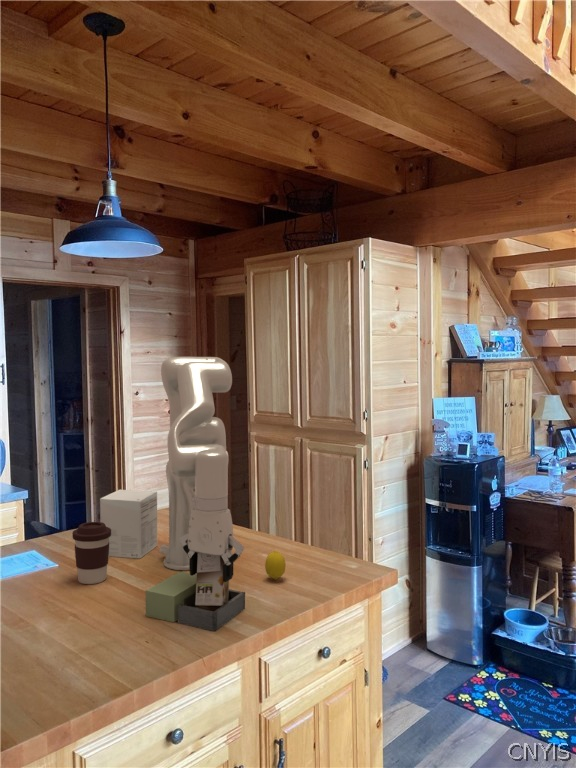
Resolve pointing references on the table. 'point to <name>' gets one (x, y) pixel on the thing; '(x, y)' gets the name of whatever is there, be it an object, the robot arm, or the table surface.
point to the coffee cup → (91, 551)
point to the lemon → (275, 565)
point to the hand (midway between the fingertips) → (211, 576)
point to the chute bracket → (212, 613)
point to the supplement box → (130, 522)
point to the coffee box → (211, 581)
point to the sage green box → (171, 596)
